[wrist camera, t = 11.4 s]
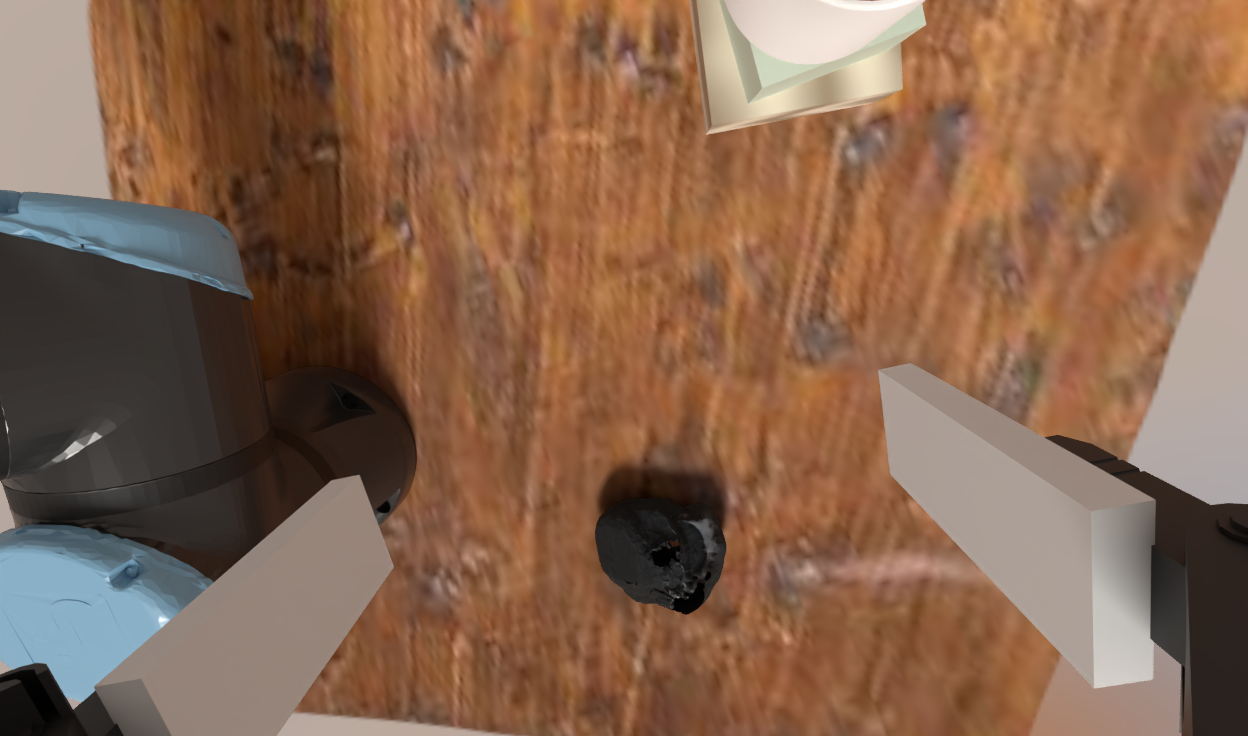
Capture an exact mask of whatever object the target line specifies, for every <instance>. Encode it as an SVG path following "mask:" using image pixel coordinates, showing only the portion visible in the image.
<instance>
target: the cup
mask: <svg viewBox="0 0 1248 736" xmlns="http://www.w3.org/2000/svg"><path fill="white" fill-rule="evenodd" d="M724 1H725V4H726V7H727V9H728V12H729V14H730V15H731V17H732V19H733V21H734V23H735V24H736V26H737V27H738V29H739V30H740V32H741V33H742V34H743V35H744V36H745V37H746V38H747V39H748V40H749V41H750V42H751V43H752V44H753V45H754V46H755V47H757V48H758V49H760V50H761V51H763V52H764V53H766V54H768V55H770V56H772V57H774V58H776V59H779V60H782V61H785V62H789V63H794V64H805V65H810V64H821V63H827V62H831V61H834V60H838V59H840V58H843V57H845V56H848V55H850V54H852V53H854V52H856V51H857V50H859V49H861V48H862V47H864V46H865V45H867V44H868V43H869V42H871V41H872V40H874V39H875V38H876V37H878V36H879V35H880V34H881V33H883V32H884V31H885V30H887V29H888V28H889V27H891V26H892V25H893V24H895V23H896V22H897V21H899V20H900V19H901V18H903V17H904V16H905V15H907V14H908V13H909V12H911V11H912V10H913V9H915V8H916V7H917V6H919V5H920V4H921V3H923V2H924V1H925V0H724Z"/></svg>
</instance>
